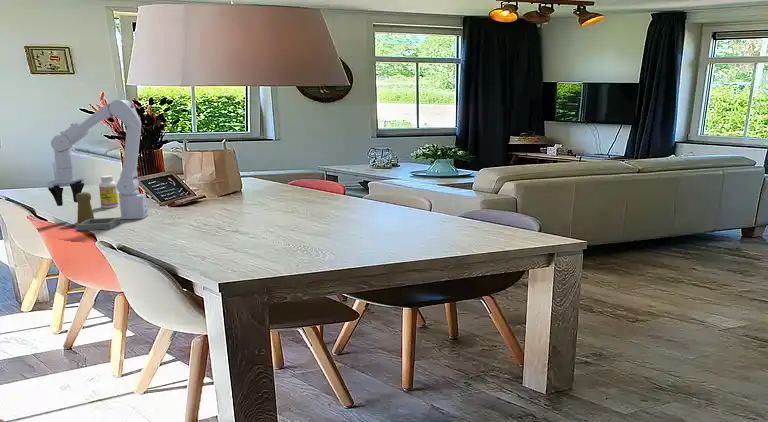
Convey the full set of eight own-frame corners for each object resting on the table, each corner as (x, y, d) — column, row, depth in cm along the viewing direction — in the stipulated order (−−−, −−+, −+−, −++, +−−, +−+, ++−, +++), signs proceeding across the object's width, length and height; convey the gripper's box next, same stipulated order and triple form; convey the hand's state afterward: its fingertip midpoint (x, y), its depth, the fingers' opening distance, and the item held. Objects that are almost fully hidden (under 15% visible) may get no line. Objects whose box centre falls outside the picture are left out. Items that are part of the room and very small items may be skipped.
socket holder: (119, 222, 251) (119, 217, 251) (110, 229, 241) (109, 223, 240) (88, 224, 251) (88, 218, 250) (78, 230, 240) (77, 225, 239)
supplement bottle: (98, 208, 284) (94, 177, 282) (106, 205, 290) (103, 175, 288) (113, 208, 283) (109, 177, 280) (121, 205, 289) (118, 175, 287)
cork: (88, 223, 252) (85, 194, 250) (73, 223, 253) (70, 194, 251) (98, 220, 258) (95, 191, 256) (84, 220, 259) (80, 191, 257)
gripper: (72, 165, 263) (76, 200, 266) (39, 169, 250) (44, 206, 253) (86, 165, 260) (90, 201, 263) (53, 170, 247) (57, 207, 250)
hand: (68, 203), depth 257 cm, fingers open, 7 cm apart
